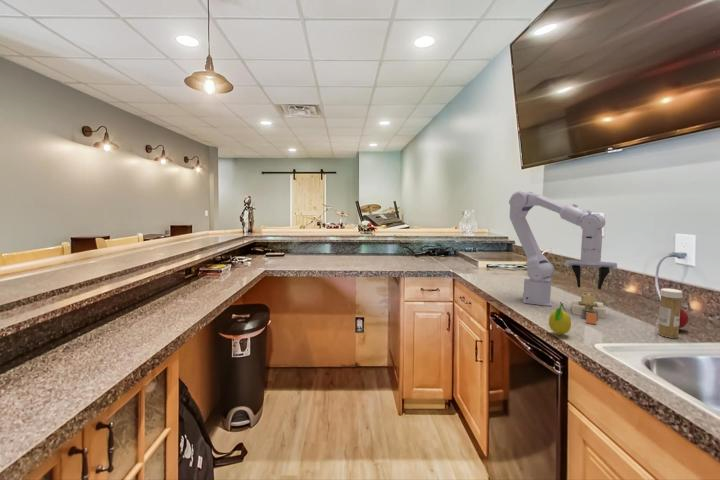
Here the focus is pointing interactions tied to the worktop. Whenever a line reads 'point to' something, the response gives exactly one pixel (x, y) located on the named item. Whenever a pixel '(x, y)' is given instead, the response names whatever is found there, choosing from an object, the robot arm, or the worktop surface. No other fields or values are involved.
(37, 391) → the worktop surface
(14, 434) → the worktop surface
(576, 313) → the dock
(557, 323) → the lemon
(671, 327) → the sprinkles bottle
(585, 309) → the block
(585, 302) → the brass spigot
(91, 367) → the worktop surface
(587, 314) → the pin
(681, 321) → the onion
